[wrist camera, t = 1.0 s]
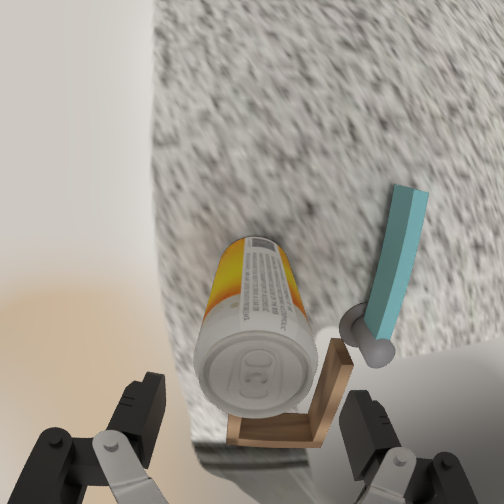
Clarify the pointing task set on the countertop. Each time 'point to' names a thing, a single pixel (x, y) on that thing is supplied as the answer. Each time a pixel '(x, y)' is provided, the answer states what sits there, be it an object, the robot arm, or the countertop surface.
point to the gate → (391, 276)
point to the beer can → (255, 334)
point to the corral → (321, 409)
